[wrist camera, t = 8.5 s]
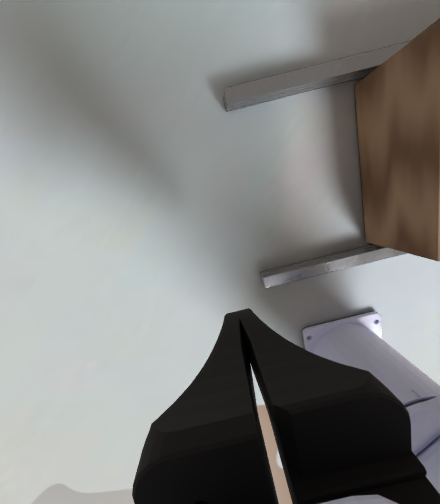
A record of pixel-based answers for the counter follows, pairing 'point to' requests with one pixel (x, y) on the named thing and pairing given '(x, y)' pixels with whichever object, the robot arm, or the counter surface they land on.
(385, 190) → the housing
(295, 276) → the guide rails
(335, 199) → the counter surface
